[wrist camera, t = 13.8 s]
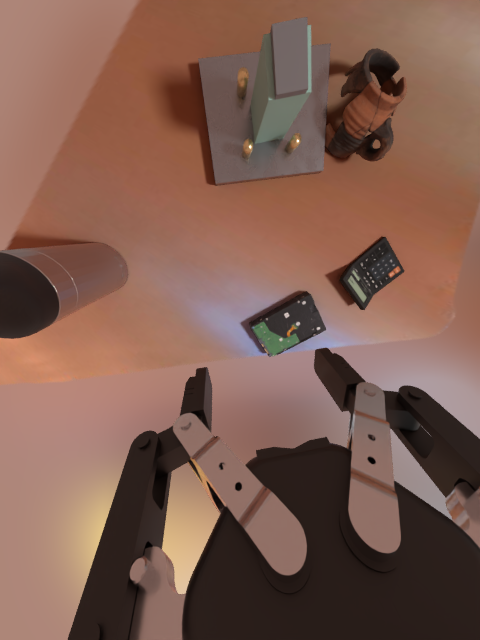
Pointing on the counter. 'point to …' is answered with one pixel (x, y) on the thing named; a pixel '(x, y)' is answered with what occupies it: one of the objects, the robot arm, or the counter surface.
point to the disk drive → (288, 325)
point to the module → (281, 79)
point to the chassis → (237, 128)
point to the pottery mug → (368, 108)
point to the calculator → (371, 272)
